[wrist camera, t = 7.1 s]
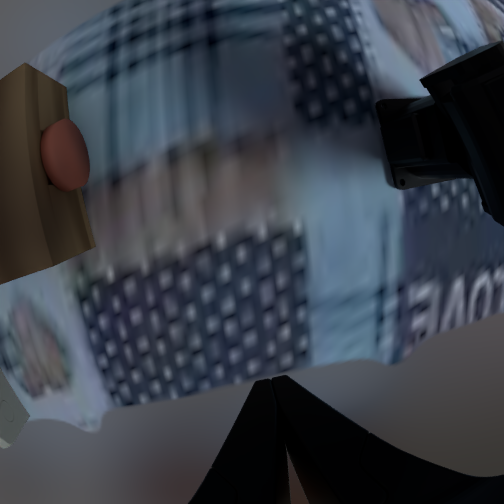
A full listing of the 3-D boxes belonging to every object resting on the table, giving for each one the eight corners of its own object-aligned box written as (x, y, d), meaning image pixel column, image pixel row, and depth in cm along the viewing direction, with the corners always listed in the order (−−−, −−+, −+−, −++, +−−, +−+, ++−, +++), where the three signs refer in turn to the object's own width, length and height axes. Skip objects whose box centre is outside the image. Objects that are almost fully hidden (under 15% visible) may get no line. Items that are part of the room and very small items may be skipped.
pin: (83, 125, 16) (50, 111, 12) (94, 186, 17) (61, 186, 13) (-7, 175, 16) (-43, 175, 11) (2, 227, 17) (-34, 236, 12)
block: (66, 87, 15) (25, 62, 10) (95, 246, 18) (53, 266, 12) (9, 121, 15) (-36, 109, 10) (34, 266, 18) (-11, 288, 12)
